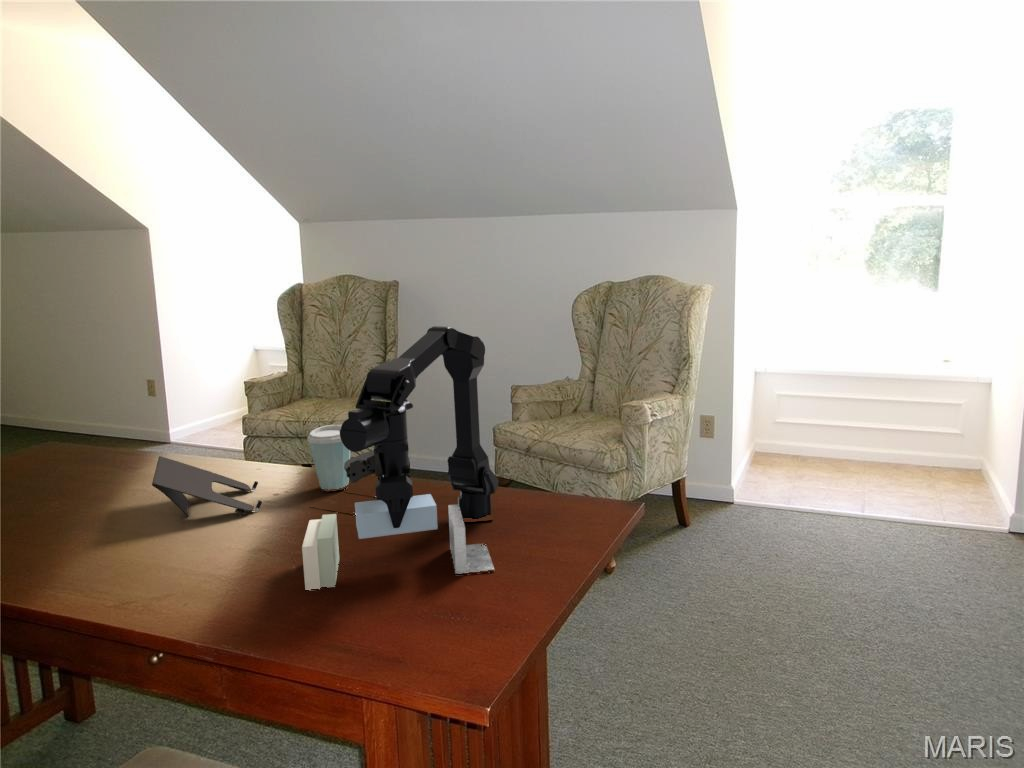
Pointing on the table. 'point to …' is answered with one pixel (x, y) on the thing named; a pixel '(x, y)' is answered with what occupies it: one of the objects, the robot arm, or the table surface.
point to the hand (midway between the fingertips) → (396, 520)
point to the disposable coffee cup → (329, 456)
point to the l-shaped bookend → (465, 546)
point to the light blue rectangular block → (378, 522)
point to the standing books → (321, 553)
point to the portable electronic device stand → (196, 485)
